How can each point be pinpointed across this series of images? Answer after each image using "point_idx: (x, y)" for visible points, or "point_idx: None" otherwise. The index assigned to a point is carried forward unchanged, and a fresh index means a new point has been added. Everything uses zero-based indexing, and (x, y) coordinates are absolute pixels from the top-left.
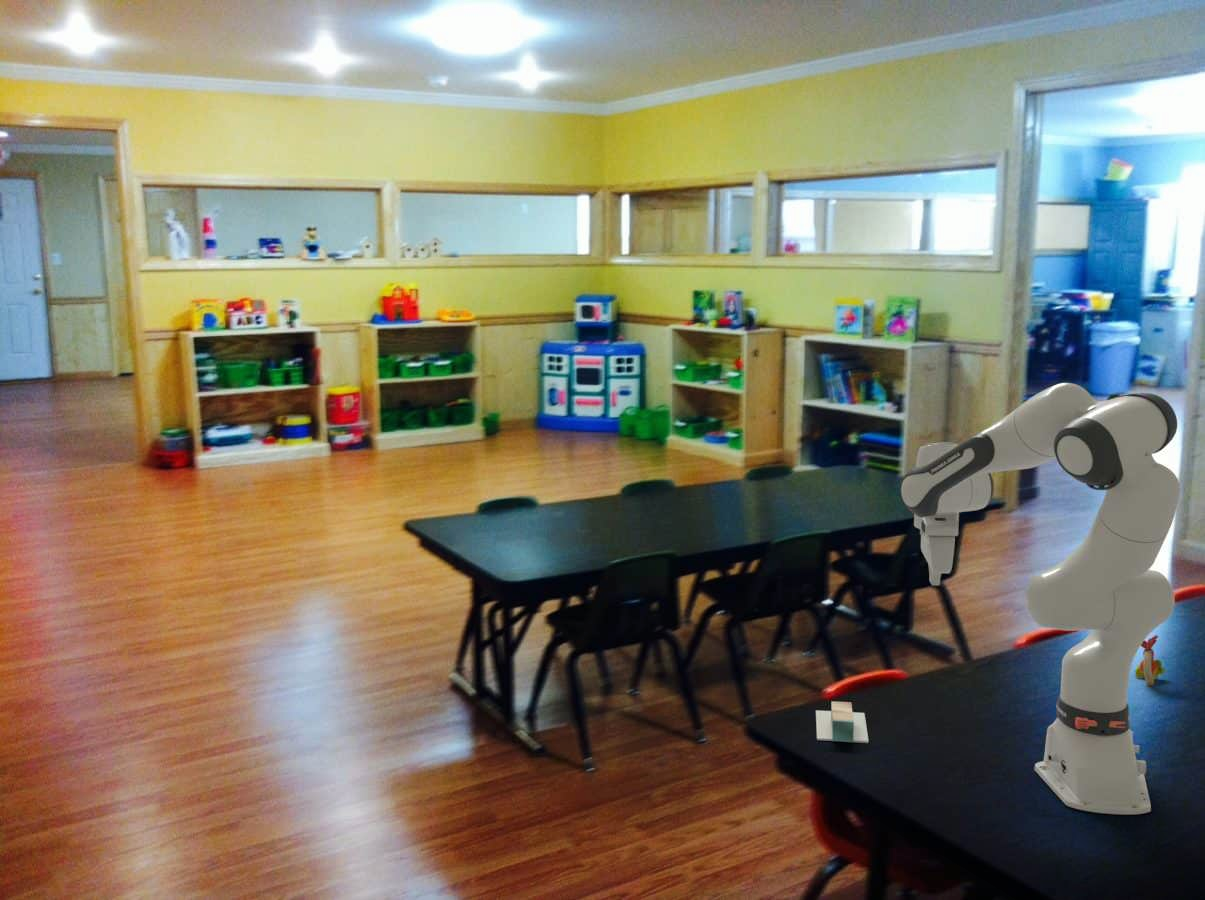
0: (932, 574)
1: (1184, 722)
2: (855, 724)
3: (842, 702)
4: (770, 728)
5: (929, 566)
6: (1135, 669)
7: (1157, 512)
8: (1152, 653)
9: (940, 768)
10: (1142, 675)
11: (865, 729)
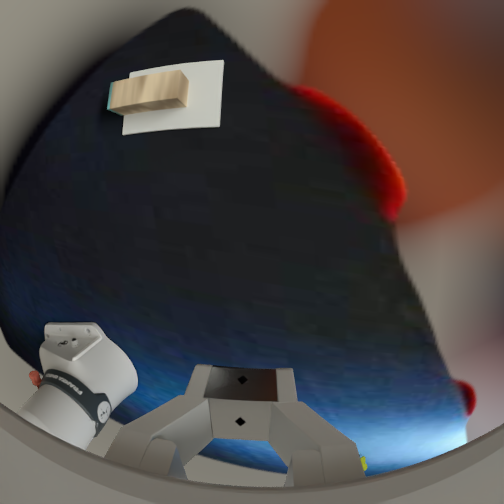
0: (159, 413)
1: (246, 463)
2: (173, 114)
3: (176, 85)
4: (166, 22)
5: (312, 443)
6: (363, 458)
7: None
8: None
9: (75, 222)
10: None
11: (157, 128)
